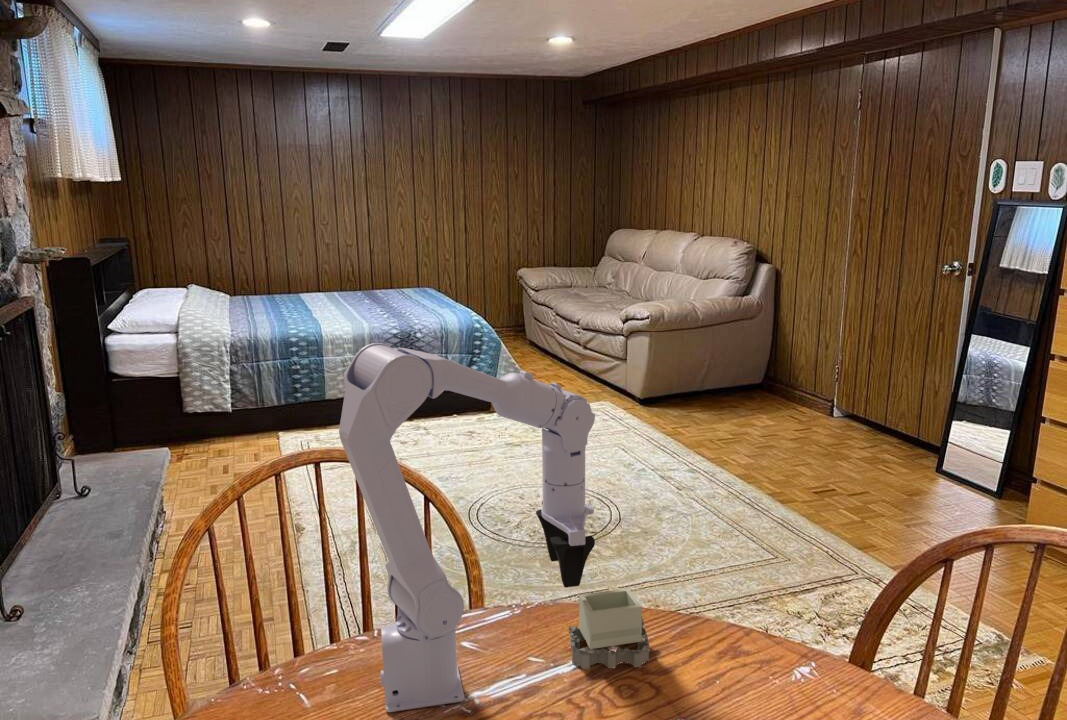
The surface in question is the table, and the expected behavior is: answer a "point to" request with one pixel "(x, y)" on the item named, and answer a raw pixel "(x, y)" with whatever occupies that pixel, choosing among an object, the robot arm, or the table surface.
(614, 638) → the box
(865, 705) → the table surface
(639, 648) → the egg carton
